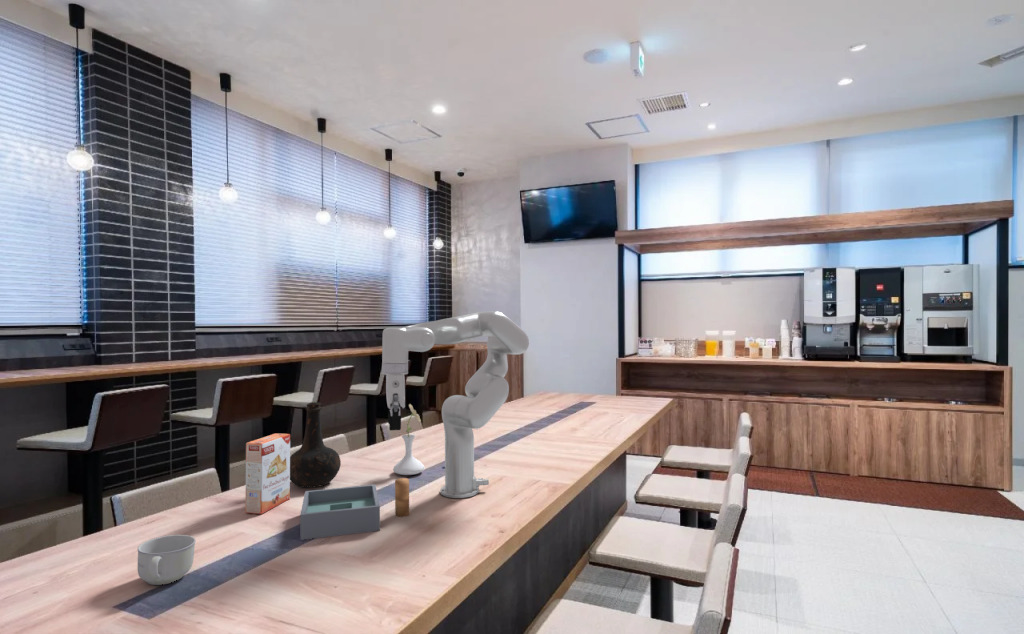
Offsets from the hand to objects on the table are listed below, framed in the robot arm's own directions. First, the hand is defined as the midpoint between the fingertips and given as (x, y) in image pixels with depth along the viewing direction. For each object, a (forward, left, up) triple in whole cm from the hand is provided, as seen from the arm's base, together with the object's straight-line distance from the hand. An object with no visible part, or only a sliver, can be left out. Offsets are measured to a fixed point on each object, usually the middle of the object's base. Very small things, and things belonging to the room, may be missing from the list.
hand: (394, 426), depth 160 cm
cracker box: (+36, -16, -25) cm, 47 cm away
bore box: (+15, +4, -25) cm, 29 cm away
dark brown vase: (+24, -35, -25) cm, 50 cm away
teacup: (+52, +28, -25) cm, 64 cm away
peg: (-2, +4, -25) cm, 25 cm away
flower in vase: (-9, -38, -25) cm, 47 cm away
